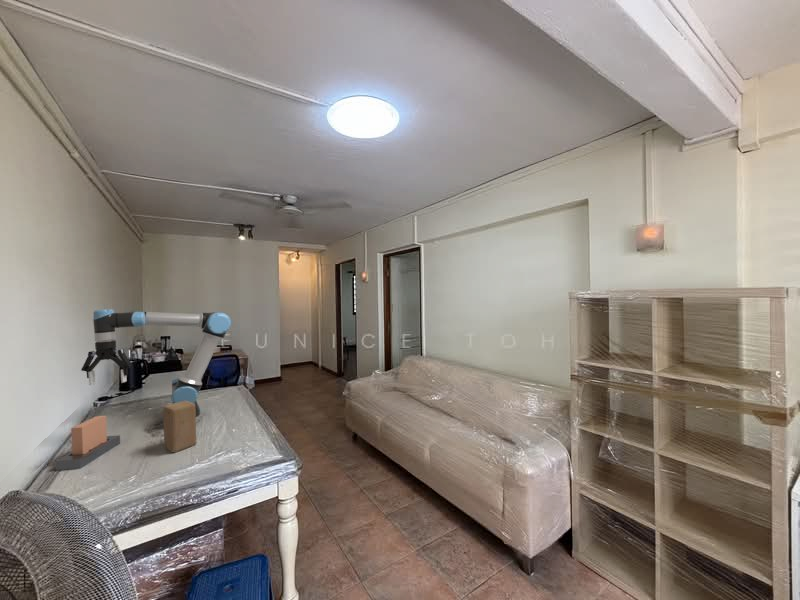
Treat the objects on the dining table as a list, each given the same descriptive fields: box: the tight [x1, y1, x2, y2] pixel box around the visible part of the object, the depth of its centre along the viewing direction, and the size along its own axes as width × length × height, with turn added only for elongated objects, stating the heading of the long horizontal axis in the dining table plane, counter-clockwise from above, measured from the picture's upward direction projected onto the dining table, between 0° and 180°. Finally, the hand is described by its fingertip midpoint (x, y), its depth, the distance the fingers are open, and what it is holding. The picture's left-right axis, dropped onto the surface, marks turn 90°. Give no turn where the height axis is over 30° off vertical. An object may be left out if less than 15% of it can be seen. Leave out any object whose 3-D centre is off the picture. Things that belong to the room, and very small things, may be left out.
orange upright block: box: [70, 415, 108, 456], centre depth 140 cm, size 4×13×14 cm, turn 8°
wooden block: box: [162, 401, 197, 453], centre depth 148 cm, size 10×10×20 cm
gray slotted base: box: [54, 435, 121, 472], centre depth 140 cm, size 9×22×4 cm, turn 8°
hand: (108, 383), depth 156 cm, fingers open, 13 cm apart
